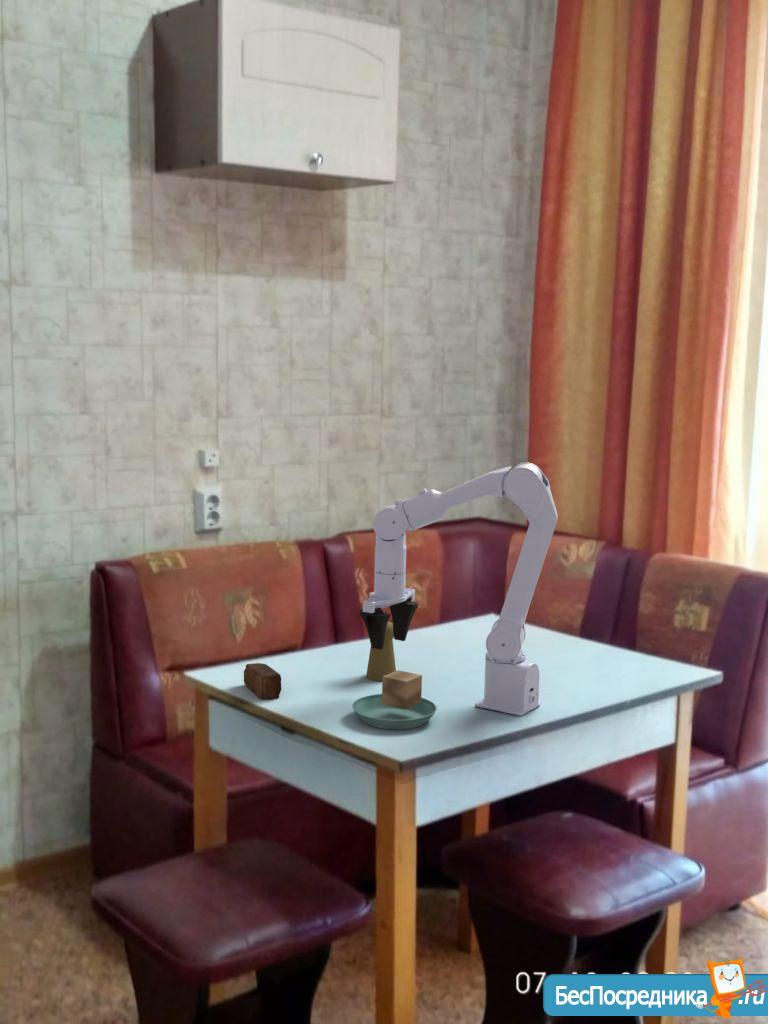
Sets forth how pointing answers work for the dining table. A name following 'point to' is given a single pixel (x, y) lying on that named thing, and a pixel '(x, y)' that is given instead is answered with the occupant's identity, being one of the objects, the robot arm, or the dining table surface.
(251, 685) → the brick
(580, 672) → the dining table surface
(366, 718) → the saucer
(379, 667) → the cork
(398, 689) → the walnut block
